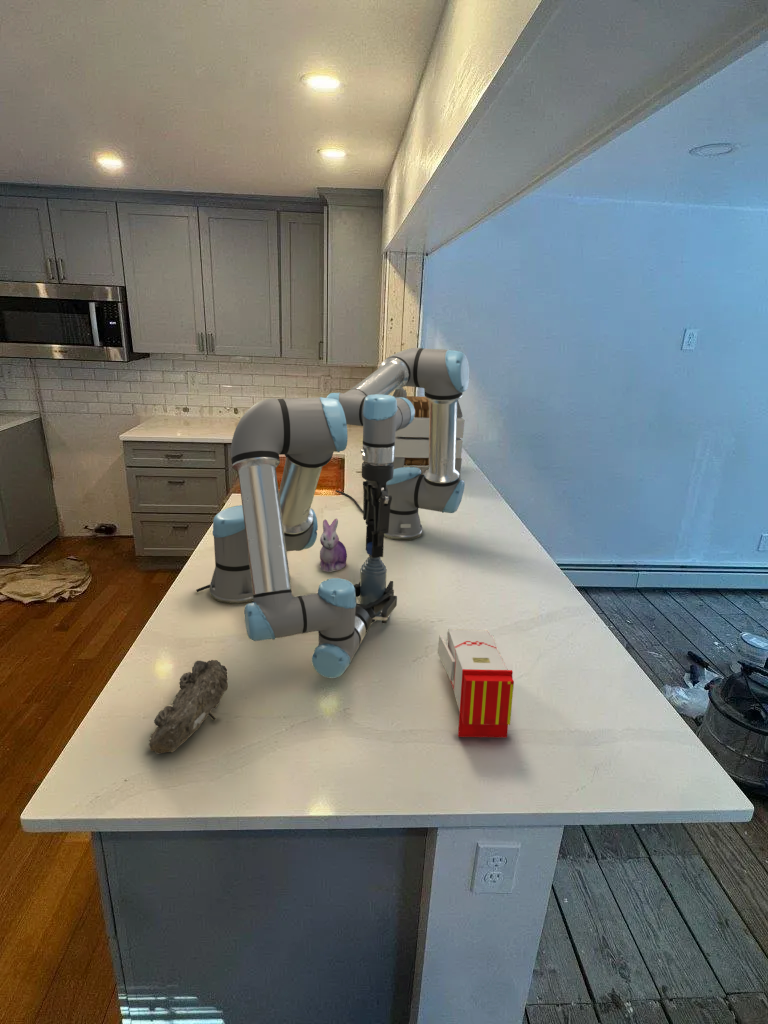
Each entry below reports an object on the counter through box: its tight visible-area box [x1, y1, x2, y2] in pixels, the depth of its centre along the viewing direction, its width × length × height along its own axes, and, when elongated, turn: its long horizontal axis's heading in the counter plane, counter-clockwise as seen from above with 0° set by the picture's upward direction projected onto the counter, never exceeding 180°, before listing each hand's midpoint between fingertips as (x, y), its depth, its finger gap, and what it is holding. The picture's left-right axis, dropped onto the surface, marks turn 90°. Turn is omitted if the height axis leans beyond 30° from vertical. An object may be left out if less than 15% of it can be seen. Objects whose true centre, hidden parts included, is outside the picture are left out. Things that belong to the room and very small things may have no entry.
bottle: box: [358, 554, 388, 615], centre depth 144 cm, size 7×7×19 cm
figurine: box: [319, 518, 348, 573], centre depth 170 cm, size 9×10×15 cm
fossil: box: [148, 659, 229, 754], centre depth 106 cm, size 22×10×15 cm
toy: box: [437, 628, 515, 738], centre depth 117 cm, size 12×13×30 cm
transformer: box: [392, 387, 465, 480], centre depth 268 cm, size 34×33×41 cm
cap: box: [366, 542, 372, 556], centre depth 141 cm, size 4×4×2 cm
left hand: (377, 583), depth 149 cm, fingers closed on bottle, 7 cm apart
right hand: (374, 553), depth 141 cm, fingers closed on cap, 4 cm apart
